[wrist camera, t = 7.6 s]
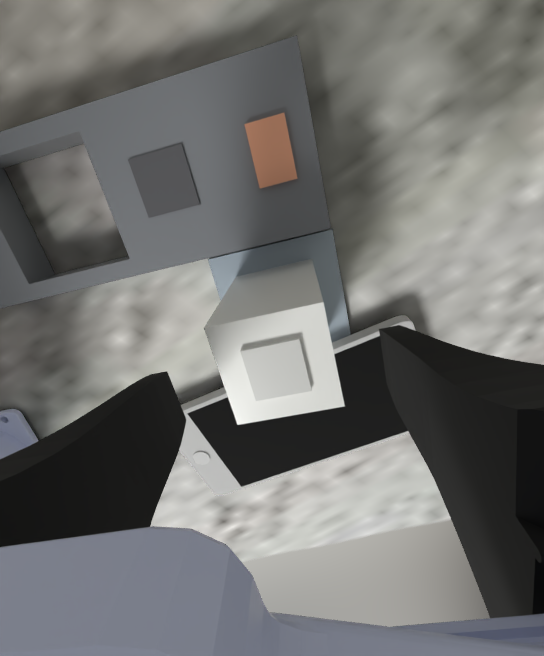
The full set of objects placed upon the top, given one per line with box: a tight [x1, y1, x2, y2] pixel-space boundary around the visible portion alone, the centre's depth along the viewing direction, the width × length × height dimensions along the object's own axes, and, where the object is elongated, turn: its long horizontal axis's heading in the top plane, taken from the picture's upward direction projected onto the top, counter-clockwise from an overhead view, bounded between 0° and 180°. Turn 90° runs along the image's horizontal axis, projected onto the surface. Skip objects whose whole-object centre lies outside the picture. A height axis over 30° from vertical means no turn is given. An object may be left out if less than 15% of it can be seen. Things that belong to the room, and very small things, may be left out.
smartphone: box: [179, 315, 416, 496], centre depth 20 cm, size 7×16×1 cm, turn 116°
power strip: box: [0, 35, 331, 308], centre depth 16 cm, size 18×7×2 cm, turn 104°
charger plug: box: [204, 259, 345, 425], centre depth 15 cm, size 4×4×7 cm
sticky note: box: [208, 229, 351, 342], centre depth 18 cm, size 6×6×1 cm
